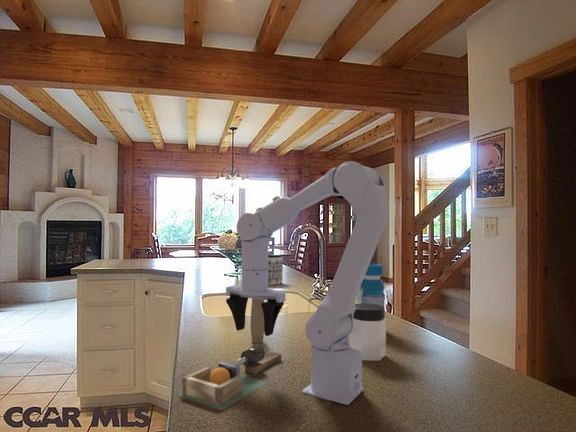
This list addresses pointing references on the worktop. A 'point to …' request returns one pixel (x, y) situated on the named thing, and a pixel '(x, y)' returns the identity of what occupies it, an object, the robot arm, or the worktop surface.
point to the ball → (219, 376)
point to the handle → (257, 321)
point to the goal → (211, 387)
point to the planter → (275, 269)
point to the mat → (247, 388)
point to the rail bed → (264, 363)
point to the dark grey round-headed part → (244, 360)
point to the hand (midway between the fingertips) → (254, 332)
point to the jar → (369, 331)
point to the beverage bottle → (372, 286)
